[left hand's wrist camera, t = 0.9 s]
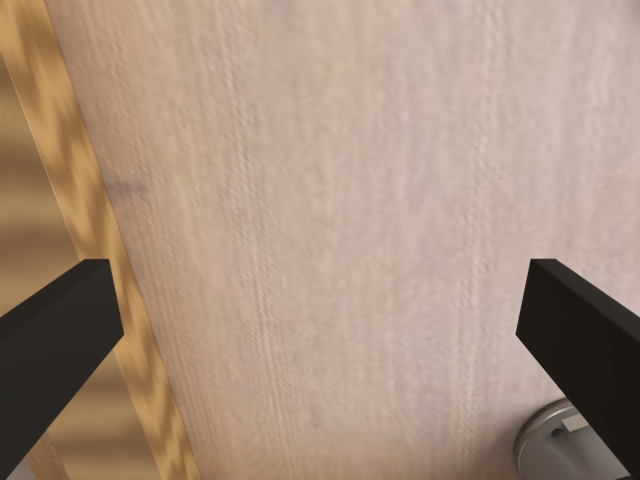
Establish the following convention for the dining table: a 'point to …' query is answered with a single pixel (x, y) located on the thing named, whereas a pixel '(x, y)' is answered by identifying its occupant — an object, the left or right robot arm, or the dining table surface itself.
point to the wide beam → (77, 261)
